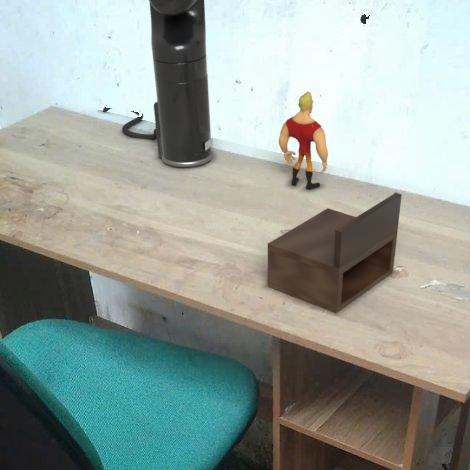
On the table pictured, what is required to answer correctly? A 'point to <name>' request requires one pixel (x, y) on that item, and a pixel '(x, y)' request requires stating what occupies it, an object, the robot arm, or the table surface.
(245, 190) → the table surface
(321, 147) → the action figure
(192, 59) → the robot arm
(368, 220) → the shelf
